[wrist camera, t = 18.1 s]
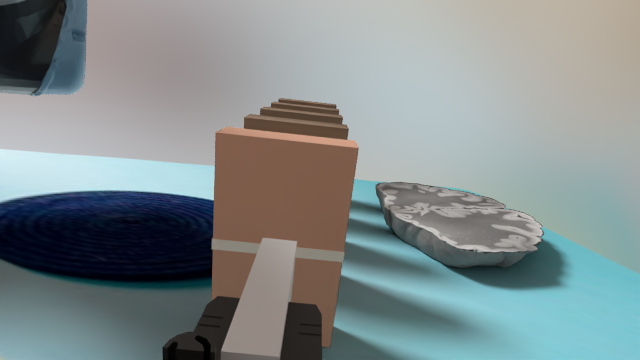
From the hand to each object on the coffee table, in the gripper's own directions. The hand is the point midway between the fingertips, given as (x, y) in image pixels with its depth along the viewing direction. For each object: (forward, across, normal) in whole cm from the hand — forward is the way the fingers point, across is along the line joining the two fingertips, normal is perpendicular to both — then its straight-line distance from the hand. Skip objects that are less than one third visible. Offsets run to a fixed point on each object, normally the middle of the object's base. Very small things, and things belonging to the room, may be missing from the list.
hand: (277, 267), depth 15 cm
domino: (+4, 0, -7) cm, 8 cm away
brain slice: (+23, +18, -7) cm, 30 cm away
